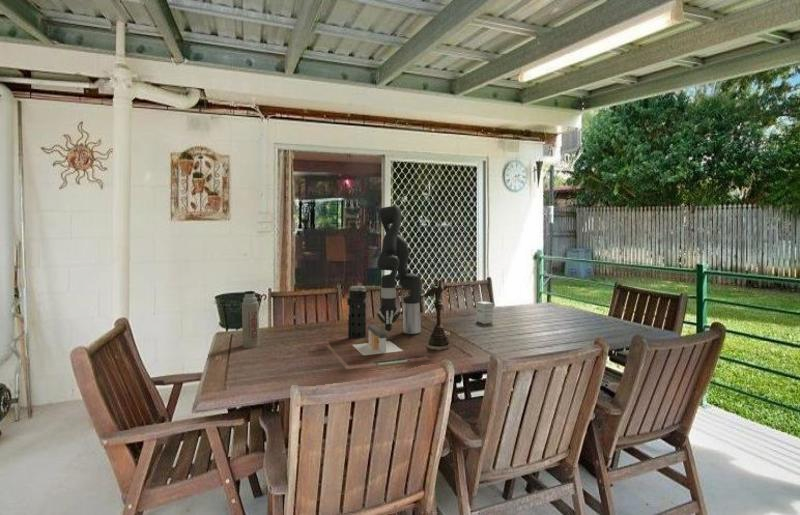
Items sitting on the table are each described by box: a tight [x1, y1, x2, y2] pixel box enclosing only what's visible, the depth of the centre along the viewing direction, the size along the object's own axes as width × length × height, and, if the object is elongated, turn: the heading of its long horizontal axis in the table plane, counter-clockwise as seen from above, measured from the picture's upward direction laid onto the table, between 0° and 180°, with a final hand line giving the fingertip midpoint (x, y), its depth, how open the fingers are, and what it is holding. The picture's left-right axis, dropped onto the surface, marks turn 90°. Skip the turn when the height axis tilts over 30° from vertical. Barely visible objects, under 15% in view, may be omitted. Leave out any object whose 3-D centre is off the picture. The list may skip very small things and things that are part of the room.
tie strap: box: [367, 324, 388, 339], centre depth 225 cm, size 3×19×2 cm, turn 22°
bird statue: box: [420, 279, 451, 351], centre depth 234 cm, size 17×13×35 cm
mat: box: [374, 358, 408, 367], centre depth 210 cm, size 14×10×1 cm
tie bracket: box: [352, 329, 404, 356], centre depth 226 cm, size 20×19×8 cm
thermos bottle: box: [241, 290, 260, 349], centre depth 234 cm, size 8×8×28 cm
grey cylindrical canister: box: [476, 301, 494, 325], centre depth 288 cm, size 7×7×13 cm
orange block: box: [371, 333, 379, 349], centre depth 224 cm, size 4×8×7 cm, turn 21°
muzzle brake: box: [346, 285, 368, 340], centre depth 250 cm, size 10×28×10 cm
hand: (388, 331), depth 227 cm, fingers closed
